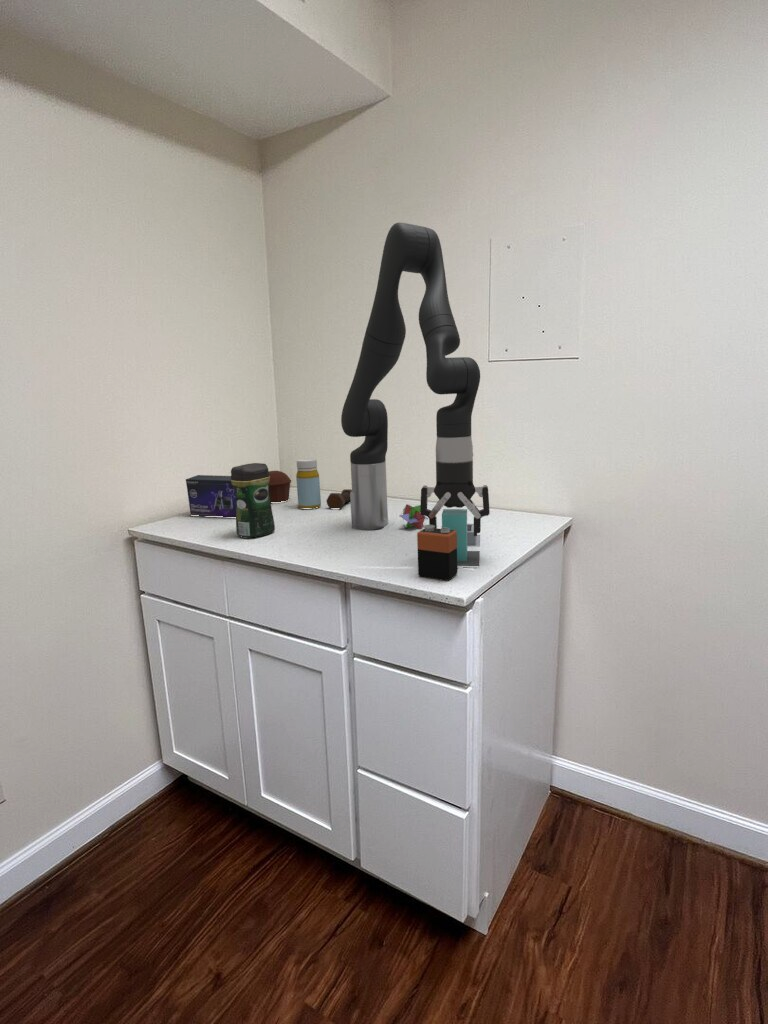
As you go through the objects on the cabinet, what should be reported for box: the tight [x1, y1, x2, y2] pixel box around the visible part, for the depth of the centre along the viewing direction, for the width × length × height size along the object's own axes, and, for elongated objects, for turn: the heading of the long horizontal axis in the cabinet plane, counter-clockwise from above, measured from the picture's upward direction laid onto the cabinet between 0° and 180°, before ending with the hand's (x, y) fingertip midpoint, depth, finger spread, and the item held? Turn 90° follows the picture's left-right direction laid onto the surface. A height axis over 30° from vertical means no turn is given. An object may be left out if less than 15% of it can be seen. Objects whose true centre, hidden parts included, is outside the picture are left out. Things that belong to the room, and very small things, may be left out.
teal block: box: [441, 508, 468, 561], centre depth 122 cm, size 5×5×10 cm
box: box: [185, 474, 236, 517], centre depth 174 cm, size 17×7×12 cm, turn 72°
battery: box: [416, 524, 458, 581], centre depth 113 cm, size 4×7×10 cm, turn 59°
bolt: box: [326, 488, 352, 509], centre depth 183 cm, size 6×5×15 cm
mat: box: [457, 550, 481, 569], centre depth 123 cm, size 10×10×1 cm
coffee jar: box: [230, 462, 276, 538], centre depth 149 cm, size 10×8×19 cm
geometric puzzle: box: [399, 503, 429, 530], centre depth 149 cm, size 7×7×8 cm
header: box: [440, 523, 481, 548], centre depth 136 cm, size 10×10×4 cm
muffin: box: [268, 470, 292, 502], centre depth 192 cm, size 12×11×10 cm
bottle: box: [295, 458, 322, 509], centre depth 180 cm, size 7×7×15 cm
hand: (455, 534), depth 122 cm, fingers open, 8 cm apart
